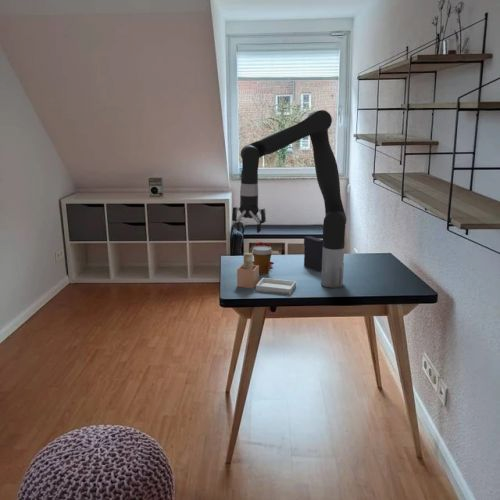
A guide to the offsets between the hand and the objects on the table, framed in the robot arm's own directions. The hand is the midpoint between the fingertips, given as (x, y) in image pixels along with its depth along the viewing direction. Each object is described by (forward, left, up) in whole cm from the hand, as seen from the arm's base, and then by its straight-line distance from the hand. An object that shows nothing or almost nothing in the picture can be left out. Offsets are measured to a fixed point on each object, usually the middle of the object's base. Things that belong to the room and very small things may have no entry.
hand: (248, 231), depth 215 cm
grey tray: (-13, +1, -24) cm, 27 cm away
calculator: (-23, -34, -24) cm, 48 cm away
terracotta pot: (0, 0, -24) cm, 24 cm away
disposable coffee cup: (-1, -19, -24) cm, 31 cm away
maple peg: (0, 0, -24) cm, 24 cm away
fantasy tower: (+2, -30, -24) cm, 39 cm away
